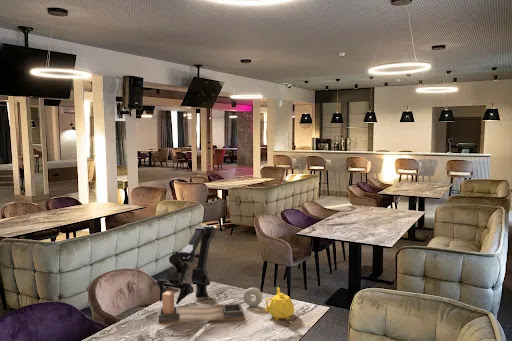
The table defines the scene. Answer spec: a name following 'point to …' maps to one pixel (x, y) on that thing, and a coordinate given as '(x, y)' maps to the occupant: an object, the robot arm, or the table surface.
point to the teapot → (280, 306)
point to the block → (168, 302)
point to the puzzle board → (203, 314)
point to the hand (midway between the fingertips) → (168, 302)
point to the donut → (250, 301)
